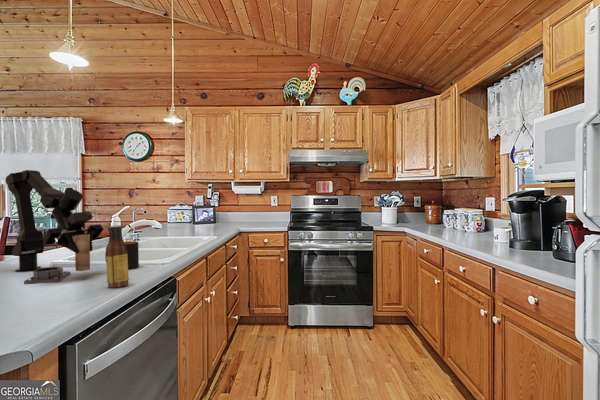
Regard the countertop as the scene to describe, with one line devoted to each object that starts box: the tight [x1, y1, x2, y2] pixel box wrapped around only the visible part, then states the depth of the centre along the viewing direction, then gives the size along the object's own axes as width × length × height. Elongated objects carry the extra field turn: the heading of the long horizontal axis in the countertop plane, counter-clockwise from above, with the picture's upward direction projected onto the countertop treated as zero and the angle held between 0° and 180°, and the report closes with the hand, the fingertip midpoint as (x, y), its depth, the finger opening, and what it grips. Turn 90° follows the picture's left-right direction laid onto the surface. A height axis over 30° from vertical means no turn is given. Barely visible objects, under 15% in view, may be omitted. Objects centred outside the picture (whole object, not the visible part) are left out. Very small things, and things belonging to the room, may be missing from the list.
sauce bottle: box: [105, 225, 130, 289], centre depth 114 cm, size 7×6×20 cm
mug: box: [104, 240, 140, 271], centre depth 141 cm, size 8×12×10 cm
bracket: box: [23, 266, 71, 285], centre depth 124 cm, size 12×10×4 cm
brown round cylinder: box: [74, 234, 91, 272], centre depth 123 cm, size 4×4×12 cm
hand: (85, 251), depth 123 cm, fingers closed on brown round cylinder, 4 cm apart
